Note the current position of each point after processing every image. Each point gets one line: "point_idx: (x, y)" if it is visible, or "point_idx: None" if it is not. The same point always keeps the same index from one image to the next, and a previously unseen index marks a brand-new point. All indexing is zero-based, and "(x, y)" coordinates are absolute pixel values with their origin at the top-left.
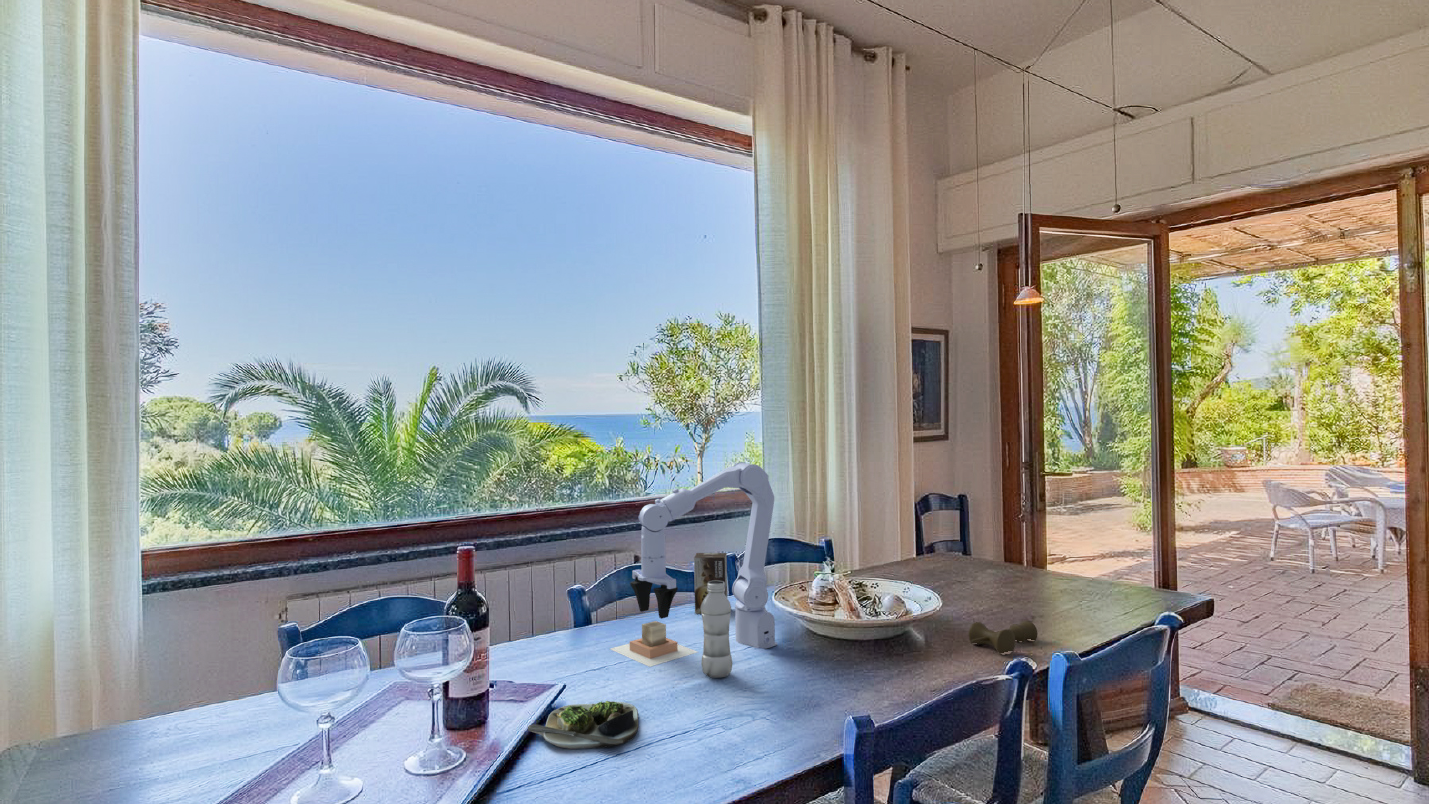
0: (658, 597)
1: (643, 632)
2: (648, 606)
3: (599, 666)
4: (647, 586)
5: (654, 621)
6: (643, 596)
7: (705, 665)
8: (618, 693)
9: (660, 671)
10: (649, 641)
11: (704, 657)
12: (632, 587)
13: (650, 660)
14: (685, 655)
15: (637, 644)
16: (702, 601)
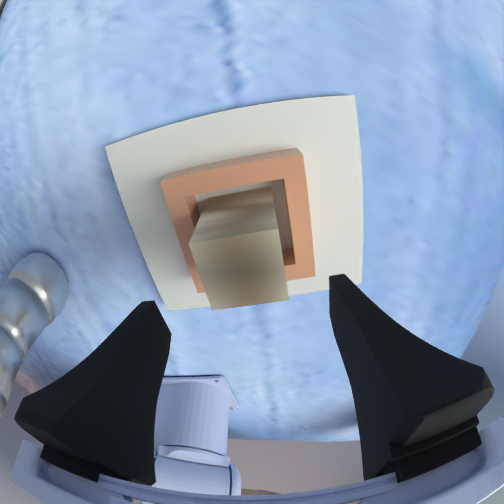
0: (69, 384)
1: (263, 214)
2: (333, 329)
3: (237, 14)
4: (367, 434)
5: (284, 292)
6: (356, 359)
7: (19, 261)
8: (33, 40)
9: (100, 172)
10: (219, 210)
11: (15, 272)
12: (453, 361)
13: (153, 168)
14: (153, 274)
15: (247, 165)
16: None
